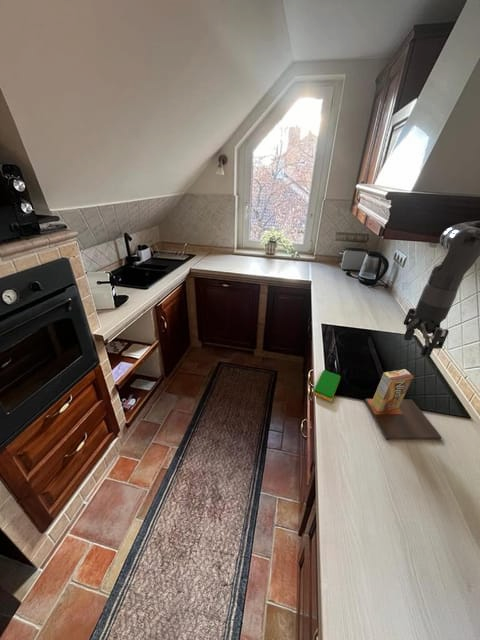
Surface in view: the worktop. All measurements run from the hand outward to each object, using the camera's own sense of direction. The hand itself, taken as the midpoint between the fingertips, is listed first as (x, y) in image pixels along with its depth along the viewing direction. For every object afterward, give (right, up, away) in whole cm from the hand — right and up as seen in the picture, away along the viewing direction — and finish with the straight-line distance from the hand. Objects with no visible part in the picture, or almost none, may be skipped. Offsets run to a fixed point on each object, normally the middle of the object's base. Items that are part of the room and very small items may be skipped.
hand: (415, 347), depth 79 cm
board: (+1, -26, +10) cm, 28 cm away
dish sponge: (-20, -18, +22) cm, 35 cm away
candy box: (-2, -23, +13) cm, 26 cm away
